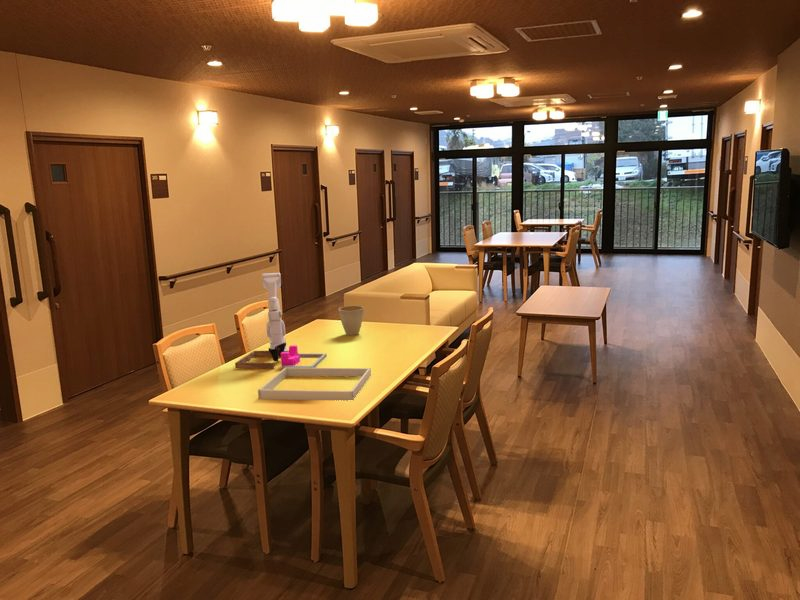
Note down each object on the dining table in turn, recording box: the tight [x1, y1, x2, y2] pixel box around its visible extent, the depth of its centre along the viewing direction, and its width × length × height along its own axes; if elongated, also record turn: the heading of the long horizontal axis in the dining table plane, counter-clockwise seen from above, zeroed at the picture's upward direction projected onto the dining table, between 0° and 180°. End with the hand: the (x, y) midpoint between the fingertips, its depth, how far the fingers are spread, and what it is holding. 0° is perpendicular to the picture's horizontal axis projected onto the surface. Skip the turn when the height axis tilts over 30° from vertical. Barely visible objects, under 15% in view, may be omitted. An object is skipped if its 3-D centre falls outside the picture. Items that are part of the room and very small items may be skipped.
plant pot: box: [338, 305, 365, 336], centre depth 381 cm, size 15×15×16 cm
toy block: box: [280, 344, 301, 366], centre depth 327 cm, size 15×6×8 cm, turn 171°
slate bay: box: [280, 352, 328, 370], centre depth 327 cm, size 23×16×2 cm
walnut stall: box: [234, 350, 289, 370], centre depth 331 cm, size 23×20×3 cm
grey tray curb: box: [257, 367, 372, 402], centre depth 287 cm, size 33×42×4 cm
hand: (278, 359), depth 329 cm, fingers open, 7 cm apart
